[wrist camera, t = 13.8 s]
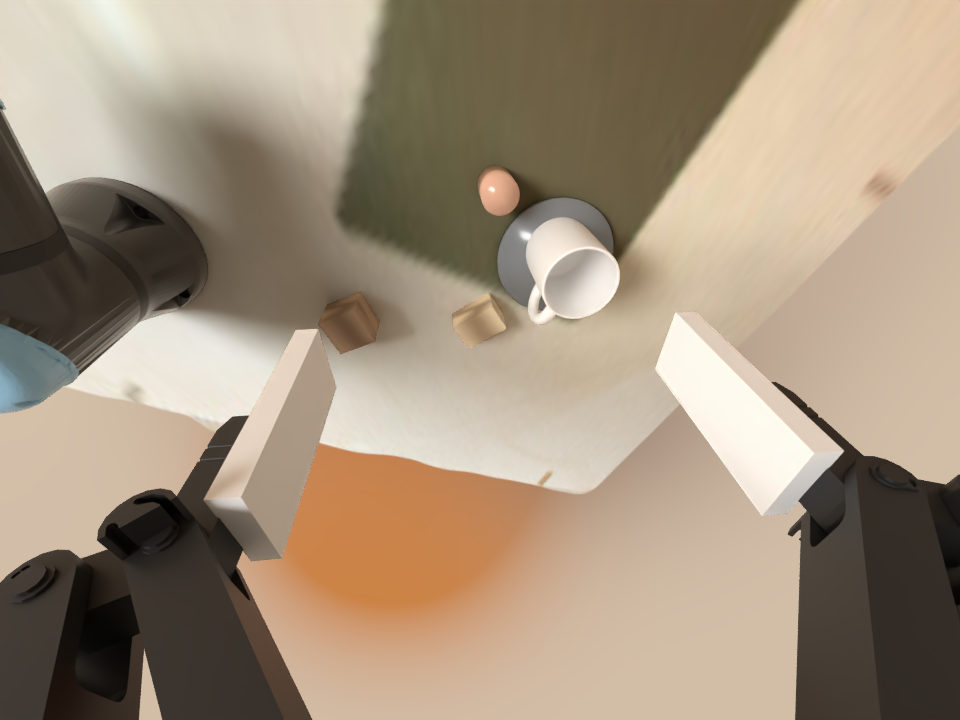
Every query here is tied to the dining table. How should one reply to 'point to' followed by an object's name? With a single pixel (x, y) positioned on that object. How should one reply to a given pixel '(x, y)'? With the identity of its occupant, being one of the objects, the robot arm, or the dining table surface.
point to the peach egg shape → (498, 190)
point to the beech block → (478, 321)
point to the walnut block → (349, 323)
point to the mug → (569, 271)
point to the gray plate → (522, 227)
